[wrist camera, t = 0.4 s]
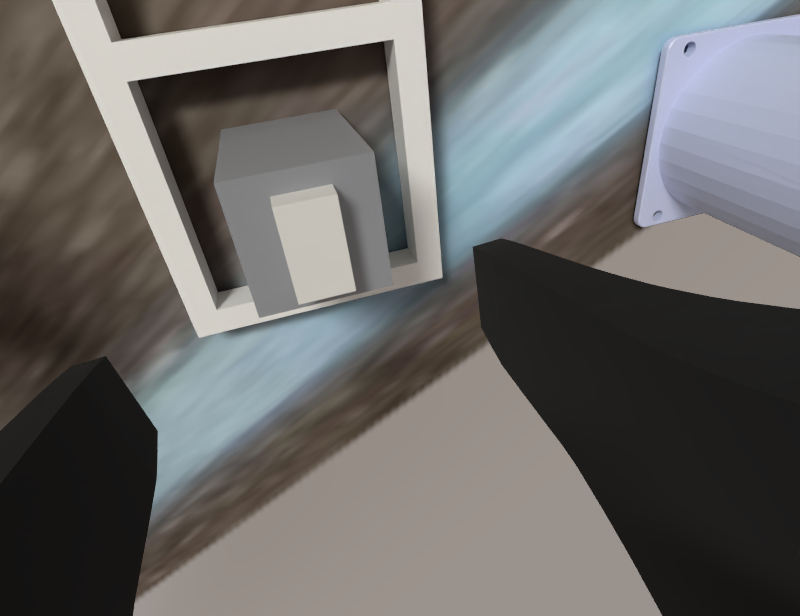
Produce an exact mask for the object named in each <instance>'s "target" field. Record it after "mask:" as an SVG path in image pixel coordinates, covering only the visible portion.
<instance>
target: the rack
mask: <svg viewBox="0 0 800 616" xmlns="http://www.w3.org/2000/svg"><path fill="white" fill-rule="evenodd" d="M52 2H53V4H54V6H55V8H56V11H57V13H58V15H59V18H60V20H61V22H62V25H63V27H64V29H65V31H66V34H67V36H68V38H69V41H70V43H71V45H72V48H73V50H74V52H75V54H76V57H77V59H78V61H79V64H80V66H81V68H82V71H83V73H84V75H85V77H86V80H87V82H88V84H89V87H90V89H91V91H92V94H93V96H94V98H95V100H96V103H97V105H98V107H99V110H100V112H101V114H102V117H103V119H104V121H105V123H106V126H107V128H108V130H109V133H110V135H111V137H112V140H113V142H114V144H115V146H116V149H117V151H118V153H119V156H120V158H121V160H122V163H123V165H124V167H125V169H126V172H127V174H128V176H129V179H130V181H131V183H132V186H133V188H134V190H135V192H136V195H137V197H138V199H139V202H140V204H141V206H142V209H143V211H144V213H145V215H146V218H147V220H148V222H149V225H150V227H151V229H152V232H153V234H154V236H155V238H156V241H157V243H158V245H159V248H160V250H161V252H162V255H163V257H164V259H165V261H166V264H167V266H168V268H169V271H170V273H171V275H172V278H173V280H174V282H175V284H176V287H177V289H178V291H179V294H180V296H181V298H182V301H183V303H184V305H185V307H186V310H187V312H188V314H189V317H190V319H191V321H192V324H193V326H194V328H195V330H196V333H197V335H198V337H199V338H200V337H204V336H208V335H212V334H216V333H220V332H224V331H229V330H233V329H237V328H241V327H245V326H249V325H253V324H257V323H261V322H265V321H269V320H273V319H277V318H281V317H285V316H290V315H294V314H298V313H302V312H306V311H310V310H314V309H318V308H322V307H326V306H330V305H334V304H338V303H342V302H346V301H350V300H355V299H359V298H363V297H367V296H371V295H375V294H379V293H383V292H387V291H391V290H395V289H399V288H403V287H407V286H411V285H416V284H420V283H424V282H428V281H432V280H436V279H440V278H443V277H442V263H441V250H440V237H439V224H438V211H437V197H436V184H435V171H434V158H433V144H432V131H431V118H430V105H429V92H428V78H427V65H426V52H425V39H424V25H423V12H422V0H379V2H374V3H368V4H361V5H354V6H347V7H340V8H333V9H326V10H319V11H313V12H306V13H299V14H292V15H285V16H278V17H271V18H264V19H257V20H251V21H244V22H237V23H230V24H223V25H216V26H209V27H202V28H195V29H189V30H182V31H175V32H168V33H161V34H154V35H147V36H140V37H133V38H127V39H121V37H120V34H119V32H118V29H117V26H116V24H115V21H114V19H113V16H112V13H111V11H110V8H109V5H108V3H107V0H52ZM380 41H384V48H385V56H386V65H387V73H388V82H389V90H390V99H391V107H392V116H393V124H394V133H395V141H396V150H397V159H398V167H399V176H400V184H401V193H402V201H403V210H404V218H405V227H406V235H407V244H408V248H406V249H402V250H398V251H393V252H389V260H390V267H391V274H392V281H393V286H389V287H385V288H380V289H376V290H372V291H368V292H364V293H360V294H356V295H352V296H348V297H344V298H339V299H335V300H331V301H327V302H323V303H319V304H315V305H311V306H307V307H303V308H299V309H294V310H290V311H286V312H282V313H278V314H274V315H270V316H266V317H262V318H259V316H258V313H257V310H256V307H255V304H254V301H253V298H252V295H251V292H250V289H249V286H248V285H247V286H243V287H239V288H234V289H230V290H226V291H221V292H218V291H217V288H216V286H215V283H214V280H213V278H212V275H211V273H210V270H209V267H208V265H207V262H206V259H205V257H204V254H203V252H202V249H201V246H200V244H199V241H198V239H197V236H196V233H195V231H194V228H193V225H192V223H191V220H190V218H189V215H188V212H187V210H186V207H185V204H184V202H183V199H182V197H181V194H180V191H179V189H178V186H177V184H176V181H175V178H174V176H173V173H172V170H171V168H170V165H169V163H168V160H167V157H166V155H165V152H164V150H163V147H162V144H161V142H160V139H159V136H158V134H157V131H156V129H155V126H154V123H153V121H152V118H151V115H150V113H149V110H148V108H147V105H146V102H145V100H144V97H143V95H142V92H141V89H140V87H139V84H138V81H137V80H141V79H148V78H154V77H160V76H166V75H173V74H179V73H185V72H192V71H198V70H204V69H211V68H217V67H223V66H229V65H236V64H242V63H248V62H255V61H261V60H267V59H273V58H280V57H286V56H292V55H299V54H305V53H311V52H317V51H324V50H330V49H336V48H343V47H349V46H355V45H361V44H368V43H374V42H380Z"/></svg>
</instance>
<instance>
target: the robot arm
mask: <svg viewBox="0 0 800 616" xmlns="http://www.w3.org/2000/svg"><path fill="white" fill-rule="evenodd" d="M687 44H688V49H687V51H686V52H685V54H684V49H685V46H686V45H687ZM656 211H657V212H656ZM655 212H656V214H655V215H654V216H653V214H654V213H655ZM702 213H706V214H708V215H710V216H712V217H714V218H716V219H719V220H721V221H723V222H725V223H727V224H729V225H732V226H734V227H736V228H738V229H740V230H743V231H745V232H747V233H749V234H751V235H754V236H756V237H758V238H760V239H763V240H765V241H767V242H769V243H771V244H773V245H775V246H777V247H780V248H782V249H784V250H786V251H789V252H791V253H793V254H795V255H797V256H799V257H800V14H797V15H791V16H786V17H780V18H774V19H768V20H763V21H757V22H751V23H745V24H740V25H734V26H728V27H723V28H717V29H711V30H705V31H700V32H694V33H688V34H683V35H677V36H673V37H671V38H670V39H668V40H667V41H666V43H665V44H664V46H663V48H662V51H661V57H660V63H659V69H658V75H657V81H656V87H655V93H654V99H653V105H652V111H651V117H650V123H649V129H648V135H647V141H646V147H645V153H644V159H643V165H642V172H641V178H640V184H639V190H638V196H637V202H636V208H635V214H634V222H635V224H637V225H639V226H641V227H649V226H653V225H657V224H661V223H665V222H669V221H673V220H677V219H681V218H685V217H689V216H694V215H698V214H702ZM473 254H474V263H475V273H476V282H477V291H478V301H479V310H480V320H481V328H482V330H483V331H484V333H485V335H486V337H487V339H488V341H489V343H490V344H491V346H492V348H493V350H494V351H495V353H496V355H497V357H498V358H499V360H500V362H501V364H502V365H503V367H504V368H505V369H506V371H507V372H508V374H509V375H510V376H511V378H512V379H513V380H514V382H515V383H516V384H517V386H518V387H519V388H520V390H521V391H522V393H523V394H524V395H525V396H526V398H527V399H528V400H529V402H530V403H531V404H532V406H533V407H534V408H535V410H536V411H537V412H538V414H539V415H540V416H541V418H542V419H543V420H544V422H545V423H546V424H547V426H548V427H549V428H550V429H551V431H552V432H553V433H554V435H555V436H556V437H557V439H558V440H559V441H560V442H561V444H562V445H563V447H564V448H565V450H566V451H567V453H568V454H569V455H570V457H571V458H572V460H573V461H574V463H575V464H576V466H577V467H578V469H579V471H580V472H581V474H582V475H583V477H584V479H585V481H586V482H587V484H588V485H589V487H590V489H591V490H592V492H593V494H594V495H595V497H596V499H597V500H598V502H599V504H600V505H601V507H602V509H603V510H604V512H605V514H606V516H607V517H608V519H609V521H610V522H611V524H612V526H613V528H614V529H615V531H616V533H617V535H618V536H619V538H620V540H621V541H622V543H623V545H624V546H625V548H626V550H627V552H628V554H629V555H630V557H631V559H632V561H633V563H634V564H635V566H636V568H637V570H638V572H639V574H640V575H641V577H642V579H643V581H644V583H645V585H646V586H647V588H648V590H649V592H650V594H651V595H652V597H653V599H654V601H655V603H656V604H657V606H658V608H659V610H660V612H661V614H662V616H800V309H794V308H785V307H778V306H770V305H763V304H755V303H747V302H740V301H733V300H727V299H721V298H715V297H709V296H704V295H699V294H694V293H689V292H684V291H679V290H674V289H669V288H665V287H661V286H656V285H652V284H648V283H644V282H640V281H637V280H633V279H629V278H626V277H622V276H618V275H615V274H611V273H608V272H605V271H601V270H598V269H595V268H591V267H588V266H585V265H582V264H579V263H576V262H573V261H570V260H567V259H564V258H561V257H558V256H555V255H552V254H549V253H546V252H543V251H541V250H538V249H535V248H532V247H529V246H526V245H523V244H520V243H516V242H513V241H510V240H505V239H498V240H494V241H491V242H488V243H484V244H481V245H477V246H474V247H473ZM157 437H158V431H157V429H156V428H155V427H154V425H153V424H152V422H151V421H150V419H149V418H148V416H147V415H146V414H145V412H144V411H143V409H142V408H141V406H140V405H139V403H138V402H137V401H136V399H135V398H134V396H133V395H132V393H131V392H130V390H129V389H128V388H127V386H126V385H125V383H124V382H123V380H122V379H121V377H120V376H119V374H118V373H117V372H116V370H115V369H114V367H113V366H112V364H111V363H110V361H109V360H108V359H107V357H106V356H105V357H102V358H99V359H95V360H92V361H88V362H85V363H82V364H78V365H75V366H72V367H70V368H69V369H68V370H67V371H65V372H64V373H63V374H61V375H60V376H59V377H58V378H57V379H55V380H54V381H53V382H52V383H51V384H50V385H49V386H47V387H46V388H45V389H44V390H43V391H42V392H41V393H40V394H39V395H38V396H37V397H36V398H34V399H33V400H32V401H31V402H30V403H29V404H28V405H27V406H26V407H25V408H24V409H23V410H22V411H21V412H20V413H19V414H18V415H17V416H16V417H15V418H13V419H12V420H11V421H10V422H9V423H8V424H7V425H6V426H5V427H4V428H3V429H2V430H1V431H0V616H133V609H134V603H135V596H136V591H137V586H138V580H139V575H140V569H141V564H142V558H143V553H144V548H145V542H146V537H147V531H148V526H149V520H150V515H151V509H152V503H153V497H154V492H155V485H156V478H157Z"/></svg>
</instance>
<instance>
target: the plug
mask: <svg viewBox="0 0 800 616" xmlns="http://www.w3.org/2000/svg"><path fill="white" fill-rule="evenodd" d="M214 186H215V189H216V191H217V194H218V197H219V200H220V203H221V206H222V209H223V212H224V215H225V218H226V221H227V224H228V227H229V230H230V233H231V236H232V239H233V242H234V245H235V248H236V251H237V254H238V257H239V260H240V263H241V266H242V269H243V271H244V274H245V277H246V280H247V283H248V286H249V289H250V292H251V295H252V298H253V301H254V304H255V307H256V310H257V313H258V316H259V318H262V317H266V316H270V315H274V314H278V313H282V312H286V311H290V310H294V309H299V308H303V307H307V306H311V305H315V304H319V303H323V302H327V301H331V300H335V299H339V298H344V297H348V296H352V295H356V294H360V293H364V292H368V291H372V290H376V289H380V288H385V287H389V286H393V281H392V274H391V267H390V260H389V253H388V246H387V239H386V232H385V225H384V218H383V211H382V204H381V197H380V190H379V183H378V176H377V169H376V162H375V155H374V151H373V150H372V149H371V148H370V147H369V146H368V144H367V143H366V142H365V141H364V140H363V139H362V138H361V137H360V135H359V134H358V133H357V132H356V131H355V130H354V129H353V128H352V126H351V125H350V124H349V123H348V122H347V121H346V120H345V119H344V117H343V116H342V115H341V114H340V113H339V112H338V111H337V110H336V109H333V110H328V111H322V112H317V113H311V114H306V115H300V116H294V117H289V118H283V119H278V120H272V121H267V122H261V123H255V124H250V125H244V126H239V127H233V128H228V129H222V130H221V135H220V142H219V149H218V156H217V164H216V171H215V178H214Z"/></svg>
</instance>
